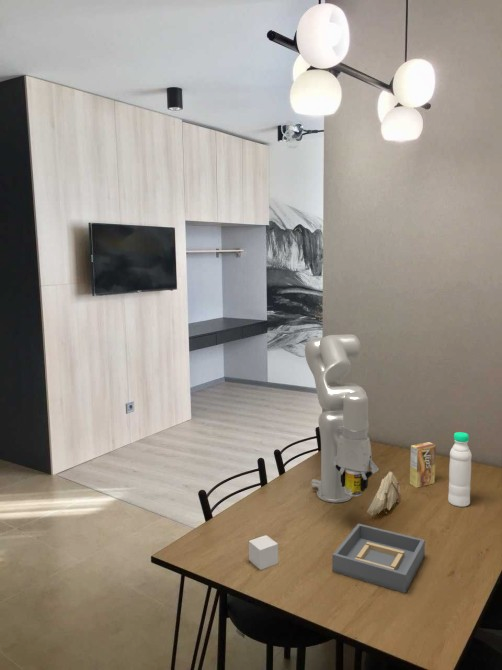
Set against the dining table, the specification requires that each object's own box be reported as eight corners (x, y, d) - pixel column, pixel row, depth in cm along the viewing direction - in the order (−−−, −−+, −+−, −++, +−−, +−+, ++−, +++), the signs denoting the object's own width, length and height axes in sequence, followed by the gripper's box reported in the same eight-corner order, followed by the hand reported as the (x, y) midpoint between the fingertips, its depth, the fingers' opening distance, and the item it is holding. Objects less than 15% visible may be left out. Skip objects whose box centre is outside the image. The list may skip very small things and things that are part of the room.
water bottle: (444, 499, 193) (446, 430, 190) (463, 497, 194) (466, 429, 190) (453, 508, 187) (456, 437, 183) (473, 506, 187) (476, 436, 183)
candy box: (427, 479, 210) (428, 441, 208) (435, 483, 206) (436, 444, 204) (409, 484, 206) (410, 445, 204) (417, 488, 203) (418, 448, 200)
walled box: (332, 571, 151) (332, 554, 150) (357, 538, 168) (358, 523, 167) (405, 593, 141) (405, 575, 140) (424, 556, 157) (424, 539, 157)
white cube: (249, 560, 157) (248, 540, 156) (266, 554, 160) (266, 534, 160) (260, 570, 152) (260, 550, 151) (278, 563, 155) (277, 543, 154)
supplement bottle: (353, 498, 169) (354, 467, 167) (341, 492, 173) (341, 461, 172) (366, 494, 172) (367, 463, 170) (354, 487, 176) (354, 457, 175)
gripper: (324, 431, 170) (323, 486, 174) (378, 441, 162) (376, 498, 165) (333, 424, 177) (333, 477, 180) (386, 433, 168) (384, 488, 171)
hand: (353, 486), depth 172 cm, fingers closed on supplement bottle, 5 cm apart
